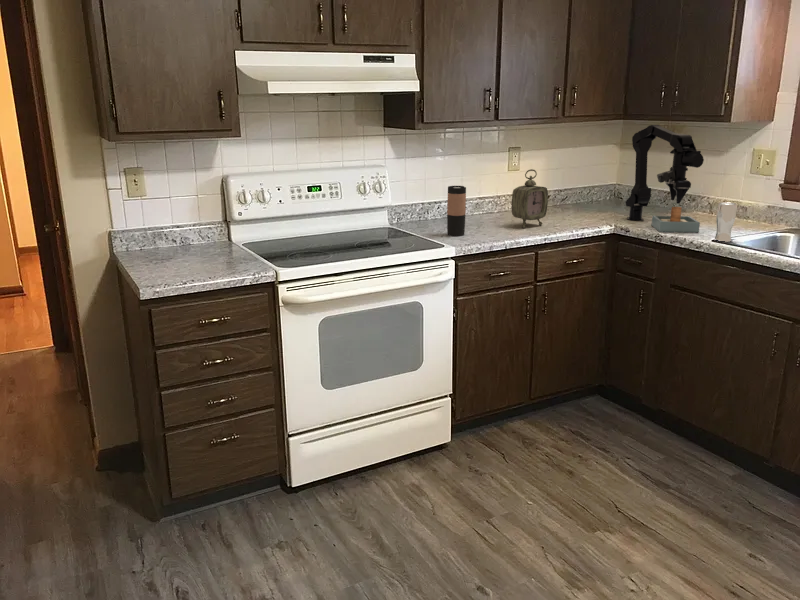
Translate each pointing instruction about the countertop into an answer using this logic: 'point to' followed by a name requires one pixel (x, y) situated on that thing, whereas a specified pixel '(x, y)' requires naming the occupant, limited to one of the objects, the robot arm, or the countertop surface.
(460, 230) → the travel mug
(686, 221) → the open box
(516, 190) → the tabletop clock
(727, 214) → the beer glass
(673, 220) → the peg
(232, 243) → the countertop surface
